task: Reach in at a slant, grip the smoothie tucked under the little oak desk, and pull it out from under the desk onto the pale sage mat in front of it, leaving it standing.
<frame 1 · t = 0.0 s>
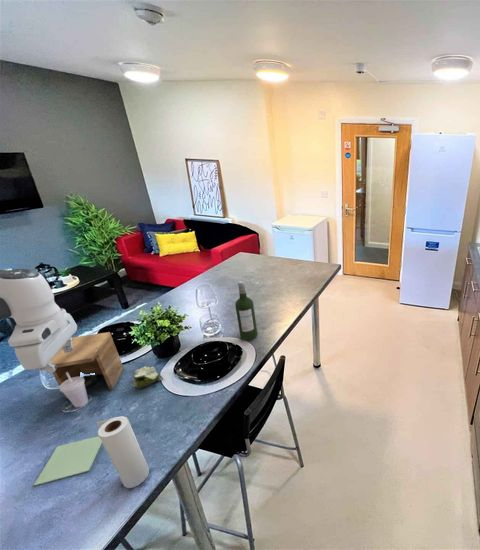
hand: (61, 360, 88), 25 cm above the table, tool pointing down, fingers open, 8 cm apart
desk: (94, 386, 111), on the table
mat: (72, 458, 86), on the table
mossy rock: (147, 383, 114), on the table
paper towel roll: (136, 476, 83), on the table
wine bottle: (249, 336, 144), on the table
smoothie: (81, 403, 104), on the table
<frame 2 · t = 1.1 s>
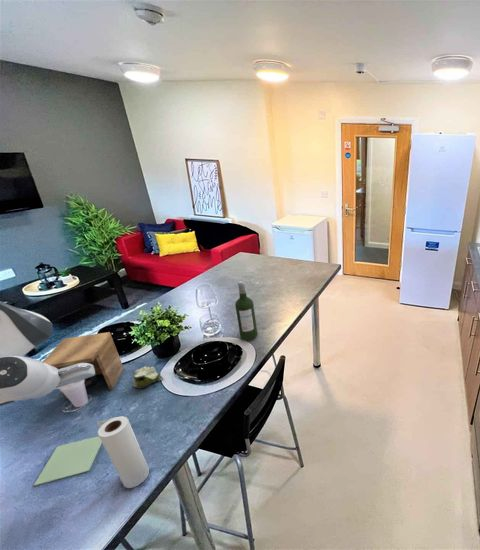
hand: (56, 386, 88), 18 cm above the table, tool tilted 45°, fingers open, 8 cm apart
nothing on the table moved.
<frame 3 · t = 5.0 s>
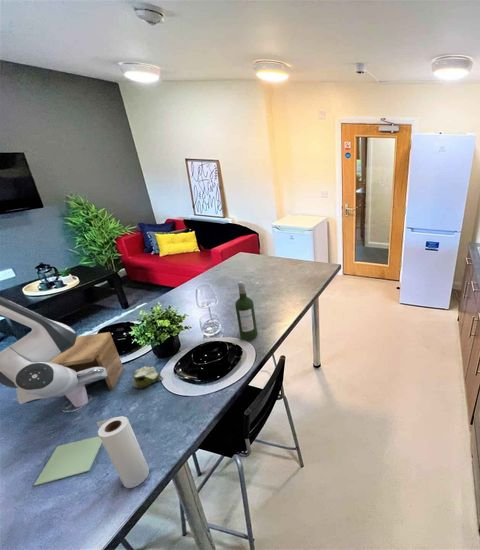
hand: (73, 385, 101), 8 cm above the table, tool tilted 45°, fingers closed on smoothie, 6 cm apart
smoothie: (81, 403, 104), on the table, touching gripper
everything else where it was.
when the fingers open (8 cm above the table, at t = 12.2 s): smoothie stays where it is, resting on mat.
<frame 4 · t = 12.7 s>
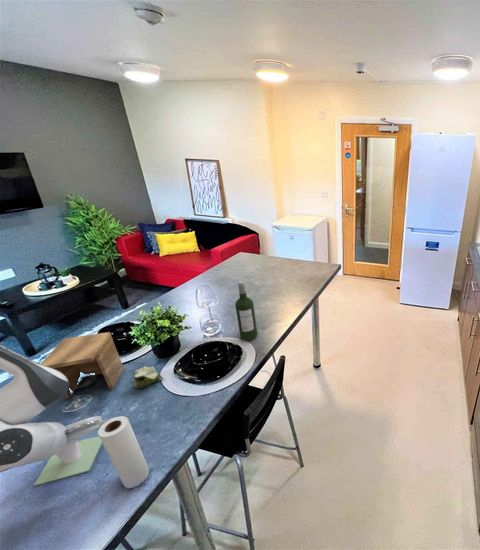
hand: (62, 438, 83), 8 cm above the table, tool tilted 45°, fingers open, 8 cm apart
smoothie: (72, 458, 86), resting on mat
everything else where it was.
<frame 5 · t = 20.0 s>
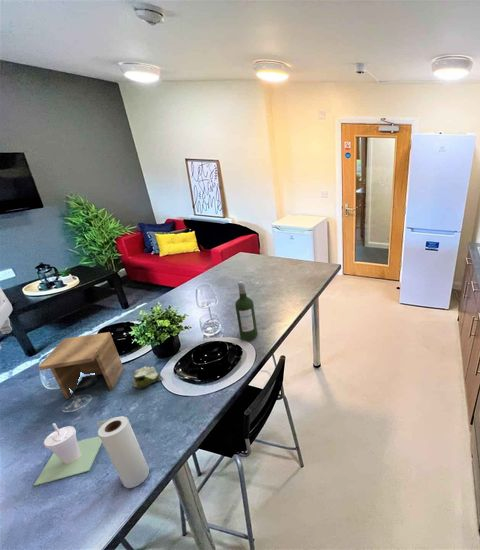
hand: (2, 340, 81), 35 cm above the table, tool pointing down, fingers open, 8 cm apart
nothing on the table moved.
at the end: smoothie inside the target area on the mat (0.0 cm from its centre), point 0.2 cm above the mat's base; smoothie tilted 0° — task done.
